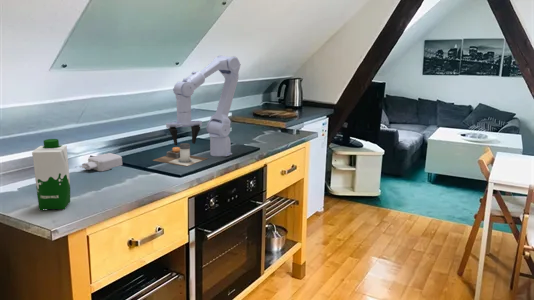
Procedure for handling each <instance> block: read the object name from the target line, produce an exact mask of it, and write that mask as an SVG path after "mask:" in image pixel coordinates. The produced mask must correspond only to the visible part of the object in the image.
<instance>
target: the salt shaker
mask: <svg viewBox="0 0 534 300" xmlns="http://www.w3.org/2000/svg"><path fill="white" fill-rule="evenodd" d="M179 147H180V161H181V162H189V161H190V155H191V150H190V149H191V144H190V143H187V142H186V143H184V142H183V143H179Z"/></svg>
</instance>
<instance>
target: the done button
mask: <svg viewBox="0 0 534 300" xmlns="http://www.w3.org/2000/svg"><path fill="white" fill-rule="evenodd" d="M172 150H173V152H174V153H179V152H180V146H175V147H172Z"/></svg>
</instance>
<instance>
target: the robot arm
mask: <svg viewBox="0 0 534 300" xmlns="http://www.w3.org/2000/svg"><path fill="white" fill-rule="evenodd" d="M240 68H241V63H240V60H239V59H238V57H237V56H235V55H233V56H228V55H220V54H219V55H218V56H216V57H214V58H213V60H212V61H211V62H210V63H209V64H208V65H207V66H205V67H204V68H203V69H201V70H200V71H199V70H196V71H194V70H193V71H192V72H191V74H190V75H188V76H186V77H184V78H183V80H182V81H177V82H176V83H174V87H173V88H172V91H173V94H174V95H175V100H176V121H172V122H166V123H165V128H166V129H168V131H169V133H170V134H171V138H172V140H173V145H174V146H178V129H177V128H187V127H189V128H190V129H191V143H192V144H193V145H195V144H196V141H197V137H198V135H199V132H200V131H201V127H202V126H203V122H202V120H192V96H193V94H194V92H195V90H196V89H197V88H199V87H201V86H202V85H204V83H205V81H206V79H207V78H208V77H209V76H211V75H214V73H216V72H217V71H219V73H220V74H221V75H222V76H223V78H224V83H223V87H222V89H221V93H220V96H219V100H218V104H217V107H216V110H215V113H214V114H213V115H211V116H210V119H209V121H208V122H207V125H206V131H207V133H208V135H209V136H210V138H209V140H210V141H209V143H210V144H209V146H210V147H209V149H210V152H209V154H210V156H213V157H228V156H229V157H230V156H232V155H233V153H232V151H231V150H232V149H231V148H232V147H231V146H232V145H231V144H232V143H231V138H230V136H229V135H230V132H231V122H232V121H231V119H230V118H229V114H230V111H231V110H230V109H231V106H232V104H233V99H234V96H235V92H236V89H237V85H238V82H239V81H238V80H239V72H240Z"/></svg>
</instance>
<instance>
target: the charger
mask: <svg viewBox="0 0 534 300" xmlns="http://www.w3.org/2000/svg"><path fill="white" fill-rule="evenodd" d="M87 161H88V162H84V163H82V164H81V166H79V168H82V169H84V170H95V171H98V172H106V171H110V170H112V169H113V168H116V167H120V166H123V157H122V156H121V155H119V154H115V153H111V152H108V153H102V154H97V155H94V156H89V157H88V159H87Z"/></svg>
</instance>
